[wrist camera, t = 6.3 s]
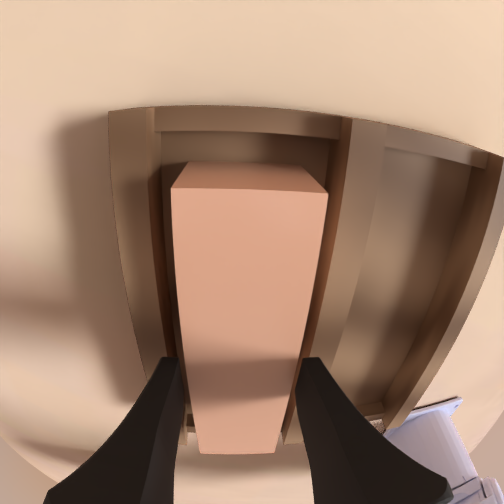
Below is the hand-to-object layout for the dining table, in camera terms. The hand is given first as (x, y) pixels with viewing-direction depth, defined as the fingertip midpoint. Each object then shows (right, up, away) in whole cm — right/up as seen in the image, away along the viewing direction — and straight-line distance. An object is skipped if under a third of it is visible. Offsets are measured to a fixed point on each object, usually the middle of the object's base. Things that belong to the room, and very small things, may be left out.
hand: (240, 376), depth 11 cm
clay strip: (0, +2, +3) cm, 3 cm away
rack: (+3, +2, +4) cm, 6 cm away
